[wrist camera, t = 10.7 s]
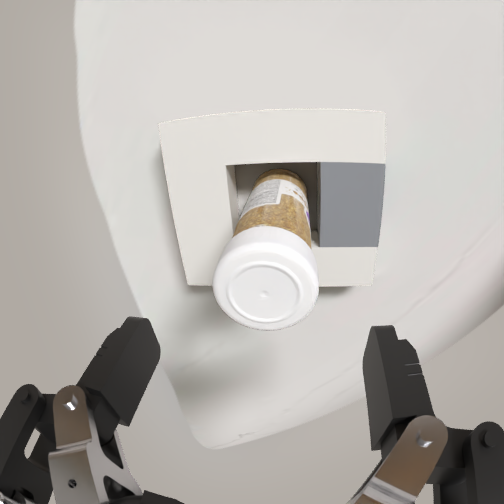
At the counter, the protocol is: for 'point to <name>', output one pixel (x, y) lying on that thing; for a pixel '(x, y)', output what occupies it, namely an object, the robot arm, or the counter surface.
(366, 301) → the counter surface
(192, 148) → the housing
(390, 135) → the counter surface
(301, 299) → the sprinkles bottle
